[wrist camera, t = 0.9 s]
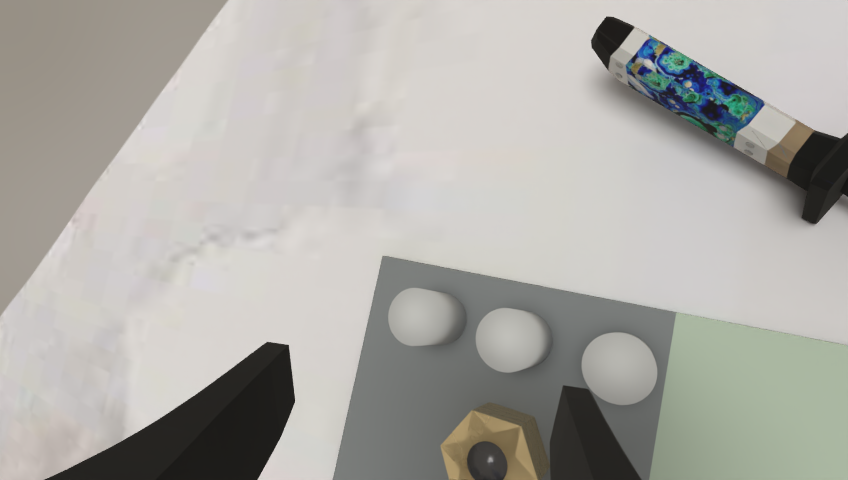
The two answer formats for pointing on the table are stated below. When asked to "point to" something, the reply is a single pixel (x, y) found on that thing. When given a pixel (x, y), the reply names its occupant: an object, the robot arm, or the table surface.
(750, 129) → the knife
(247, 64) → the table surface
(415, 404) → the spacer board
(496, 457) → the nut
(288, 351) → the robot arm
